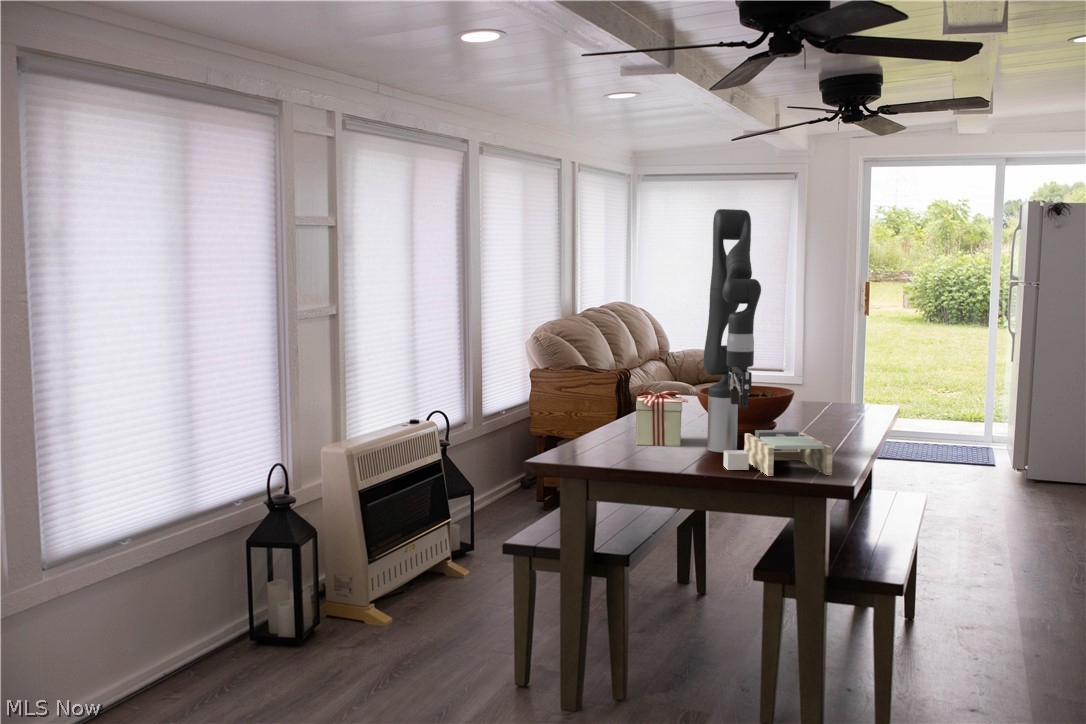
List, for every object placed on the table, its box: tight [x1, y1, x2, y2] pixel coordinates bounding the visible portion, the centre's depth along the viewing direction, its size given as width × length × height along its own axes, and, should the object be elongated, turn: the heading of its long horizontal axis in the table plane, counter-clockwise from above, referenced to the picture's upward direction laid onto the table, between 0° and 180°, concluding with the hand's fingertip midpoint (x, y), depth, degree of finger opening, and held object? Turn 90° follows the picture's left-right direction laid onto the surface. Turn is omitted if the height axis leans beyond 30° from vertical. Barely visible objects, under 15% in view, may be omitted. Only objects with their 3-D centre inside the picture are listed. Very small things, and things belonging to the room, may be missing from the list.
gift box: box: [634, 390, 689, 447], centre depth 312 cm, size 17×18×17 cm
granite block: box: [722, 449, 750, 471], centre depth 271 cm, size 5×6×5 cm
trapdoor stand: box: [743, 432, 834, 477], centre depth 273 cm, size 24×18×8 cm
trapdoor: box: [754, 429, 824, 450], centre depth 273 cm, size 22×14×4 cm, turn 3°
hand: (738, 406), depth 270 cm, fingers open, 8 cm apart
